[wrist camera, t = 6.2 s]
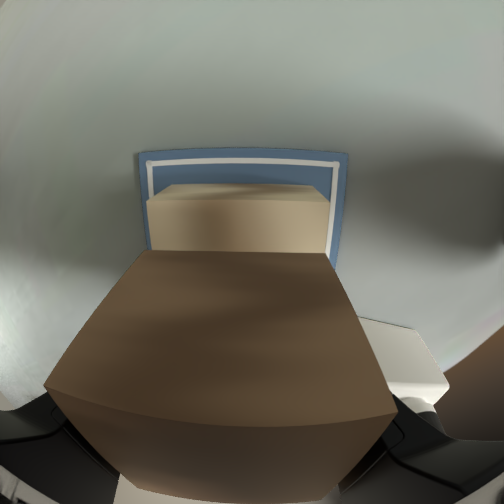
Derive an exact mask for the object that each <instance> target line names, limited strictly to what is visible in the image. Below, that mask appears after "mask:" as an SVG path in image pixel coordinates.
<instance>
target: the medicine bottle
mask: <svg viewBox="0 0 504 504" xmlns="http://www.w3.org/2000/svg"><path fill="white" fill-rule="evenodd" d="M358 319H359V321H360V323H361V325H362V327H363V330H364V332H365V334H366V336H367V338H368V341H369V343H370V345H371V347H372V350H373V352H374V354H375V356H376V359H377V361H378V363H379V366H380V368H381V370H382V373H383V375H384V377H385V380H386V382H387V385H388V387H389V390H390V391H391V392H392V394H395V395H396V396H397V397H398V398H399V399H400V400H401V401H402V402H403V403H404V404H406V405H407V406H408V407H409V408H410V409H411V410H413V411H414V412H415V413H417V414H418V415H419V416H420V417H422V418H423V419H424V420H426V421H427V422H429V423H430V424H431V425H433V426H434V427H435V428H437V429H438V430H440V431H441V432H442V433H444V434H445V431H444V429H443V427H442V425H441V423H440V420H439V418H438V416H437V414H436V411H435V409H434V407H433V405H434V404H435V403H436V402H437V401H438V400H439V399H440V398H441V396H443V395H444V393H445V392H446V391H447V390H448V389H449V383H448V382H447V380H446V378H445V376H444V375H443V373H442V371H441V370H440V368H439V366H438V364H437V363H436V361H435V360H434V358H433V356H432V355H431V353H430V351H429V350H428V348H427V347H426V345H425V343H424V342H423V340H422V339H421V337H420V336H419V334H418V333H417V331H415V330H413V329H408V328H404V327H399V326H395V325H391V324H386V323H382V322H378V321H373V320H369V319H365V318H361V317H358ZM445 435H446V434H445Z"/></svg>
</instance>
